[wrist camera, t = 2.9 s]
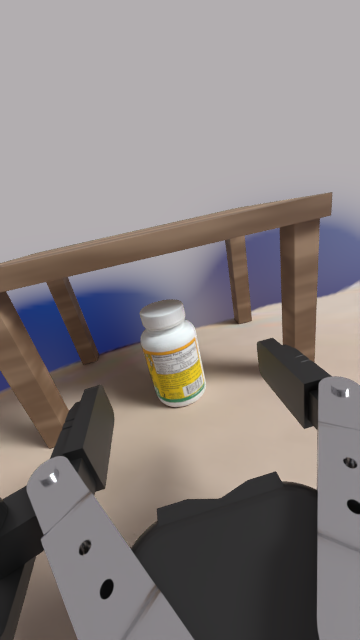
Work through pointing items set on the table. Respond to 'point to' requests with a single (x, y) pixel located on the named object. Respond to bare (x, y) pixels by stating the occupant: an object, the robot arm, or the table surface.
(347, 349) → the table surface
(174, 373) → the supplement bottle
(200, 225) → the walnut shelf
